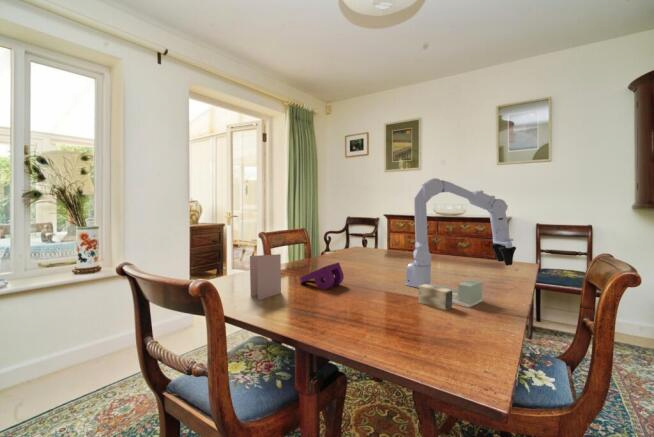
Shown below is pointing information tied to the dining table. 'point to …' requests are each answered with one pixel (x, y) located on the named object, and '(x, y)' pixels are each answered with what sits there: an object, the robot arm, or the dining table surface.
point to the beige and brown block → (435, 296)
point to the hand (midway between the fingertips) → (505, 263)
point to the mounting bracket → (326, 276)
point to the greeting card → (265, 275)
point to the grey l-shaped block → (466, 293)
